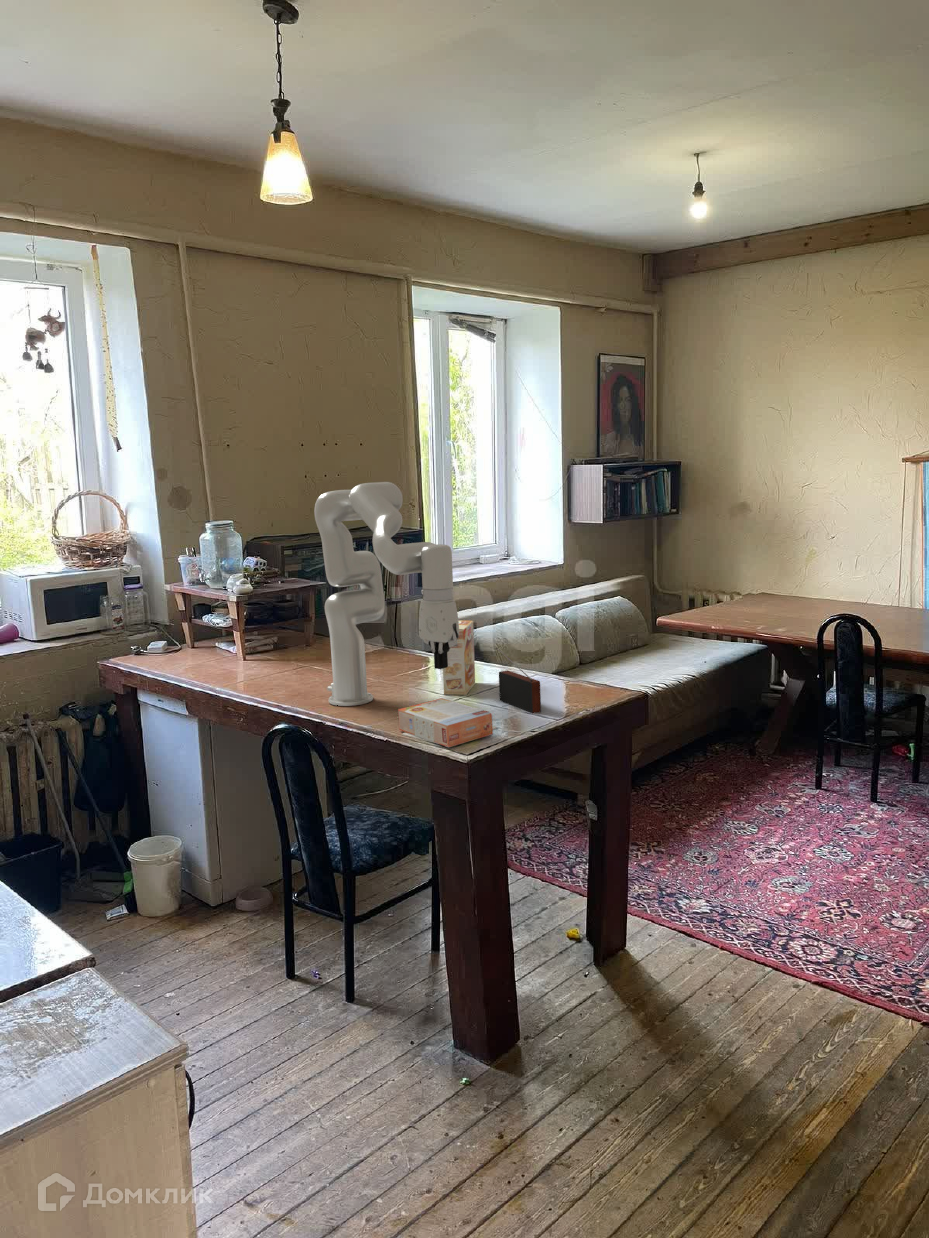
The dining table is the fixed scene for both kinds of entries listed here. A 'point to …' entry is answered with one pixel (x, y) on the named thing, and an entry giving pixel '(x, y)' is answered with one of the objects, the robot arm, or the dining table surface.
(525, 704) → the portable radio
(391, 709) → the dining table surface
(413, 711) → the cracker box
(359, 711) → the dining table surface
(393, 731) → the dining table surface
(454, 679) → the coffeecake box
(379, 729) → the dining table surface
